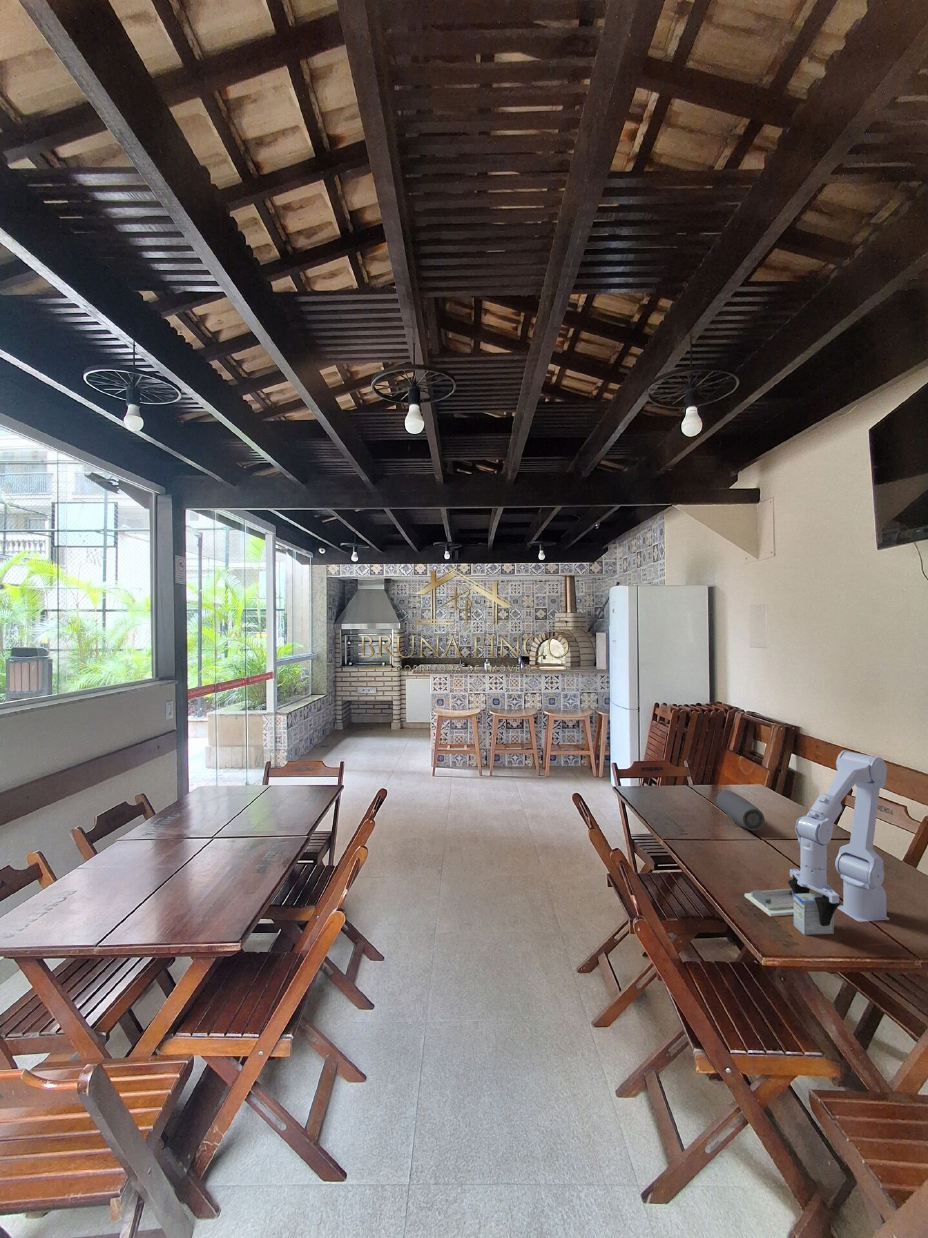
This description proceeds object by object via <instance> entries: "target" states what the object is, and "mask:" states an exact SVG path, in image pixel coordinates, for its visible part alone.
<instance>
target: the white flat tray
mask: <svg viewBox="0 0 928 1238" xmlns="http://www.w3.org/2000/svg"><path fill="white" fill-rule="evenodd" d="M744 898H746V899H747V900H749V901H750V902H751V903H752V904H754V905H755V906H756V907H757V908H759V909H760V910H761V911H763V912H764V913H765V914H767V915H768V916H769V917H781V916H782V917H783V916H794V893H793V891H792V889H791V888H780V889H765V890H759V889H754V890H753V891H752V890H751V891H750V892H748V893H746V892H745V893H744Z"/></svg>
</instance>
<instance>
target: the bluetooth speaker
mask: <svg viewBox="0 0 928 1238" xmlns="http://www.w3.org/2000/svg"><path fill="white" fill-rule="evenodd" d="M717 794H718V795H717V797H716V801H715V802H716V804H717V805H718V807H719V808H720V809H721V811H723V812H724V813H725V814H726V815H727V816H728V817H729V818H730V820H731V821H732V822H733V823H736V825H737V826H738V827H741V828H745V829H747V830H750V831H759V830H760V829H762V827H764V825H765V821H766V819H765V815H764V813H763V812H762V811H761V810H760V809H759V808H758V807H756V806H755V804H752V803H751V802H750V801H749V800H747V799H746V798H744V797H743V796H741V795H740V794H737V793H736V792H734V791H731V790H729V789H724V790H722V791H720V792H719V793H717Z"/></svg>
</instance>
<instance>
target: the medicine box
mask: <svg viewBox="0 0 928 1238" xmlns="http://www.w3.org/2000/svg"><path fill="white" fill-rule="evenodd" d="M815 897H822V895H821V894H819V893H818V892H816V893H815V892H812V893H810V892H809V893H804V894H794V915H793V926H794V927H795V929H797V930H798V931H799V932H800V933H801V934H803V936H804V935H805V936H808V935H809V936H811V935H813V936H814V935H833V934H835V933H834V929H835V928H834V924H835V923H834V921H835V920H834V918H835V913H834V914H833V916H832V919H831V922H830V925H829V926H821V925H820V921H819V911H818V906H817V903H816V901H815Z"/></svg>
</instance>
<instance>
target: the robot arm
mask: <svg viewBox="0 0 928 1238" xmlns="http://www.w3.org/2000/svg"><path fill="white" fill-rule="evenodd" d="M835 761H836V762H835V767H836V773H835V775H834V777H833V779H832V782H831V783H830V785H829V787H828V790H827V791H826V793H825V794H820V795H819V796H817V798H816V800H815V801H814V802H813V805H812V806H811V808H810V809H809V811H808V812H807V813H806V815H803V816H800V817H799V818H797V820H796V823H795V826H794V832H795V834H796V836H797V842H798V844H799V846H800V847H799V848H800V849H799V850H800V852H799V853H800V870H799V869H797V868H791V869H789V877H790V878H792V879H789V880H788V881H787V882H788V885H789V886H790V889H792V891H793V893H794V894H804V893H810V891H811V890H812V891H815V892H816V893H819V894H821V895H822V897H815V901H816V903H817V906H818V911H819V921H820V925H821V926H829V925H830V922H831V919H832V916H833V914H834V915H835V912H836V910H837V909H838V910H840V911H841V912H843V913H844V914H846V915H847V916H849V917H850V918H852V919H854V920H855V921H857V922H859V923H861V922H870V921H871V922H872V921H873V922H874V921H884V920H885V921H886V920H887V921H890V918H889V917H888V916H887V893H886V891H885V888H884V887H883V886H882V884H883V883H884V879H885V870H884V859H883V858H882V857H881V856H880V855H879V854H878V853H877V852H876V851H875V850H874V840H875V830H876V822H877V815H878V808H879V807H878V806H879V800H880V799H879V797H880V791H881V789H883V788H886V782H887V781H886V780H887V775H888V765H887V764H886V762H885V761H884V759H883V758H882V757H880V756H872V755H868V754H863V753H860V752H859V753H858V752H853V751H849V750H846V749H844V750H841V752H840V753H839V754H838V755H837V759H836V760H835ZM854 786H855V787H856V791H855V800H854V808H853V815H852V824H851V832H850V837H849V839H850V840H849V843H847V844H844V845H842V846H840V847H839V850H838V854H837V856H836V858H835V862H834V864H835V865H834V866H835V869H836V872H837V873H838V874H839V875H840V879H842V881H843V882H842V883H843V891H842V893H843V897H842V898H843V901H842V904H843V905H841V900H840V895H839V894H838V893H837V892H835V890H834V889H833V888H832V887H831V886H830V885H829V884H828V883H827V882H828V881H827V877H828V876H827V873H828V872H827V850H828V849H827V848H828V847H827V844H828V843H829V842H830V841H831V840H832V838H833V837H832V836H833V831H834V827H835V826H834V823H835V821H836V820H837V818H838V817H839V816H840V814H841V812H842V810H843V806H842V804H841V802H842V801H843V800H844V799H845V798H846V796H847V795H848V793H850V791H851V790H852V788H854Z"/></svg>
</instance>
